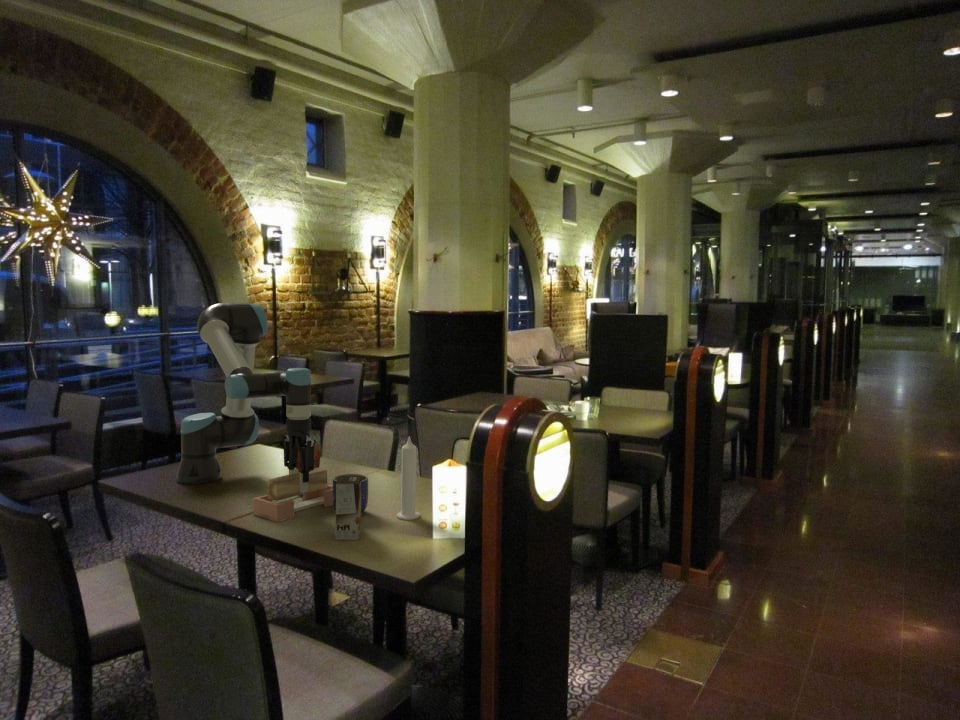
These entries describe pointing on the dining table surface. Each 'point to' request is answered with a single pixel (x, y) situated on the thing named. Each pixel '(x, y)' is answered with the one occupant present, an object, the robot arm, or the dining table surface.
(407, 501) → the candle
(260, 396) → the robot arm
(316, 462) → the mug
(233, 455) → the dining table surface
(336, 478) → the planter
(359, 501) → the coffee box
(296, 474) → the tan wooden beam
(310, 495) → the endcap rail
